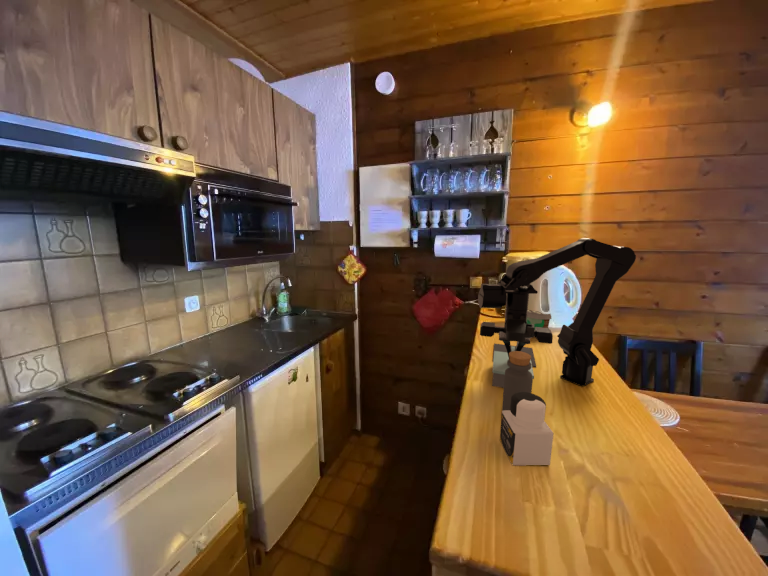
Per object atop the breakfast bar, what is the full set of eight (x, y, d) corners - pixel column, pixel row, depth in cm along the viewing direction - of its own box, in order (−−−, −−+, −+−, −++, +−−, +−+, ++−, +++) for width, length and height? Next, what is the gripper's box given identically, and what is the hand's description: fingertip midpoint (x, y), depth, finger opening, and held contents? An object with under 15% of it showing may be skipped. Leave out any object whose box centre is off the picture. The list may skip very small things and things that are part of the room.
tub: (493, 365, 100) (494, 353, 100) (528, 370, 97) (529, 358, 96) (492, 385, 88) (493, 372, 87) (531, 392, 84) (532, 378, 83)
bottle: (501, 418, 73) (506, 358, 70) (501, 405, 78) (506, 348, 75) (529, 423, 71) (535, 361, 68) (527, 409, 76) (532, 351, 73)
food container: (513, 331, 133) (515, 308, 131) (524, 329, 135) (525, 306, 133) (538, 340, 122) (540, 315, 120) (549, 338, 124) (552, 314, 122)
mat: (494, 344, 118) (494, 343, 118) (532, 349, 113) (532, 347, 113) (492, 361, 103) (492, 360, 103) (536, 367, 99) (536, 366, 99)
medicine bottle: (499, 440, 65) (503, 387, 63) (533, 441, 65) (539, 388, 63) (511, 466, 58) (516, 407, 56) (550, 466, 58) (557, 408, 56)
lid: (493, 355, 100) (495, 338, 99) (529, 360, 96) (531, 343, 95) (492, 375, 87) (493, 356, 86) (533, 381, 83) (535, 362, 82)
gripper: (480, 312, 84) (476, 366, 87) (558, 319, 77) (552, 377, 80) (482, 303, 94) (479, 351, 97) (552, 308, 88) (546, 360, 91)
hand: (512, 360), depth 91 cm, fingers closed on lid
